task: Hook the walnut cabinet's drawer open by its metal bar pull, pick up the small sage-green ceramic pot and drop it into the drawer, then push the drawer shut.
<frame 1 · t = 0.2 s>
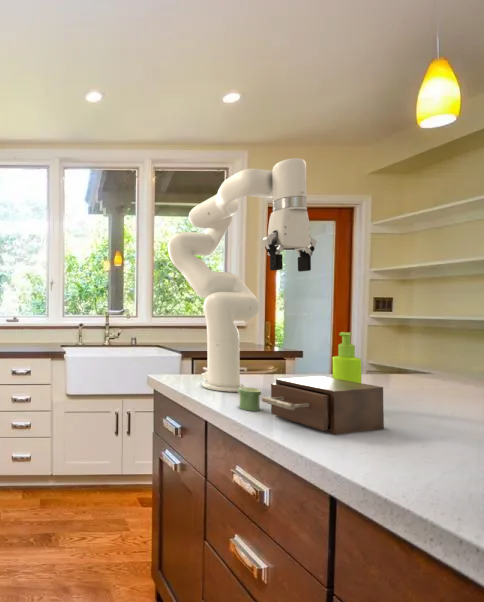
hand: (290, 270, 99), 37 cm above the worktop, tool pointing down, fingers open, 9 cm apart
soap dispenser: (346, 407, 98), on the worktop
drawer: (308, 404, 84), point 5 cm above the worktop, slide at 1.0 cm
cabinet: (327, 422, 86), on the worktop
pot: (249, 408, 97), on the worktop
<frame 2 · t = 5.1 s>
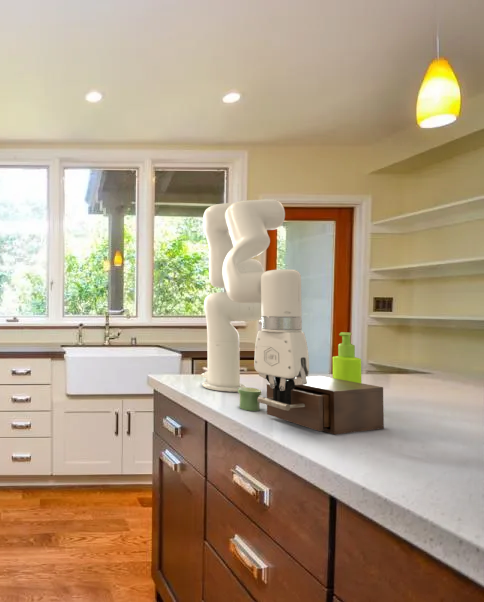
hand: (282, 407, 82), 4 cm above the worktop, tool pointing down, fingers closed
drawer: (304, 404, 84), point 5 cm above the worktop, slide at 2.3 cm, touching gripper
everything else where it was.
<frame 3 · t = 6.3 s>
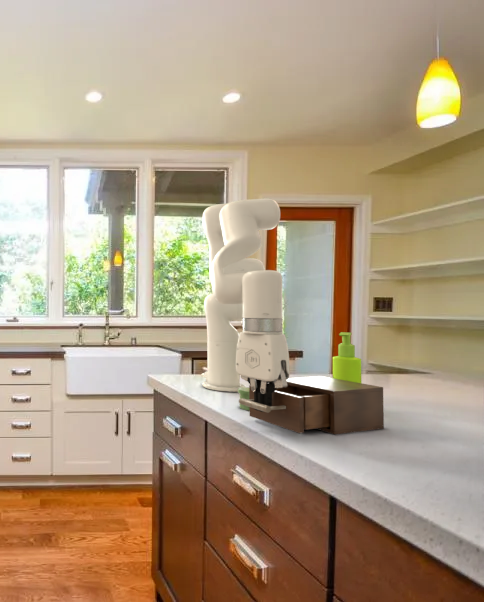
hand: (263, 410, 81), 4 cm above the worktop, tool pointing down, fingers closed
drawer: (286, 406, 82), point 5 cm above the worktop, slide at 7.6 cm
everything else where it was.
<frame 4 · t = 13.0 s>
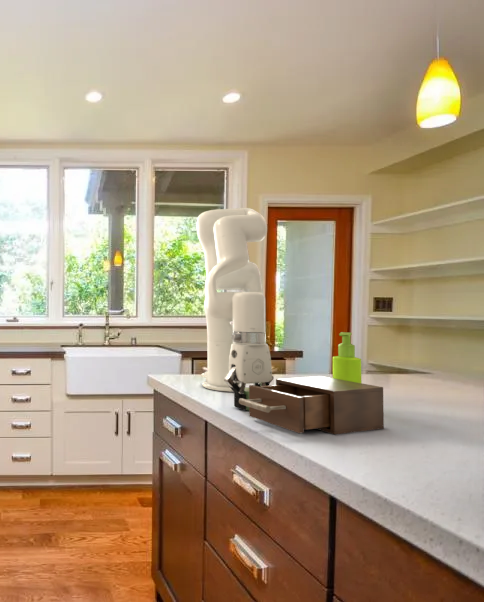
hand: (249, 406, 97), 0 cm above the worktop, tool pointing down, fingers closed on pot, 5 cm apart
pot: (249, 408, 97), on the worktop, touching gripper
everything else where it was.
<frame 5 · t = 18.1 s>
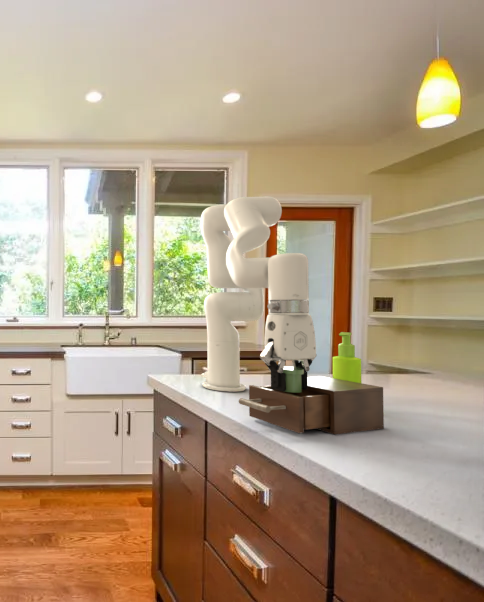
hand: (289, 388, 83), 9 cm above the worktop, tool pointing down, fingers closed on pot, 5 cm apart
pot: (289, 390, 83), point 8 cm above the worktop, touching gripper
everything else where it was.
when the fingers open (11 cm above the worktop, at t = 30.4 s): pot drops 8 cm, resting on drawer.
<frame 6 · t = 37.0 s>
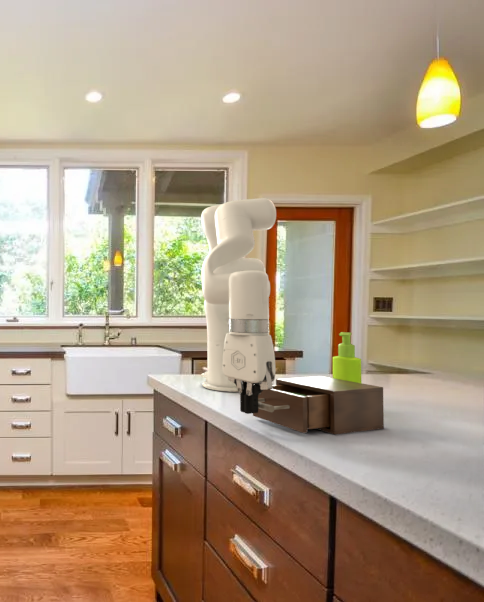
hand: (249, 412, 80), 4 cm above the worktop, tool pointing down, fingers closed
drawer: (289, 405, 83), point 5 cm above the worktop, slide at 6.6 cm, touching gripper, pot
pot: (292, 417, 83), point 2 cm above the worktop, touching drawer
everything else where it was.
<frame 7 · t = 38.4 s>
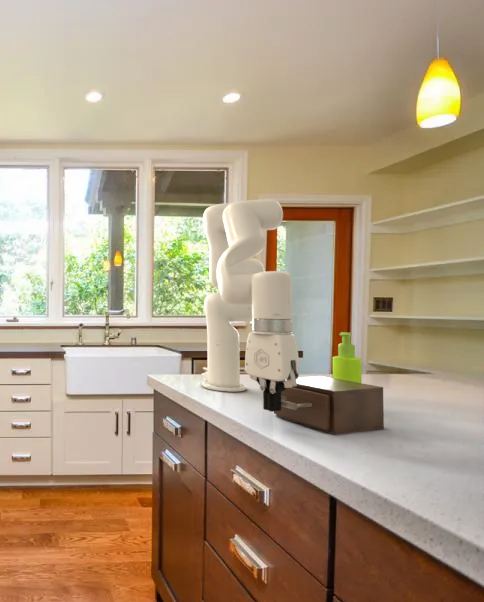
hand: (272, 409, 81), 4 cm above the worktop, tool pointing down, fingers closed
drawer: (311, 403, 84), point 5 cm above the worktop, slide at 0.3 cm, touching gripper, pot
pot: (314, 414, 85), point 2 cm above the worktop, touching drawer
everything else where it was.
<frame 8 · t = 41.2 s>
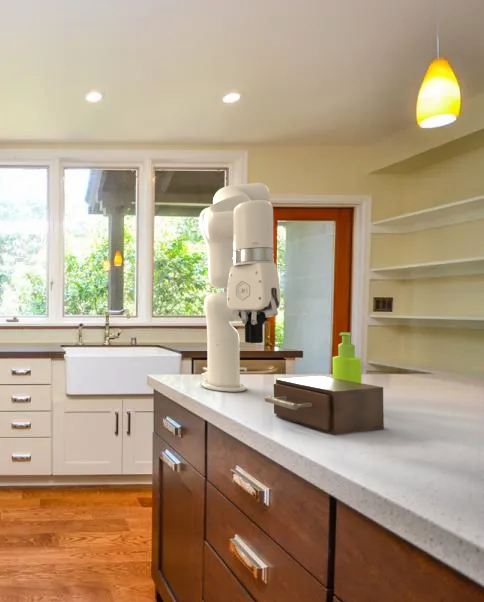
hand: (253, 342, 80), 19 cm above the worktop, tool pointing down, fingers closed
drawer: (311, 403, 84), point 5 cm above the worktop, slide at 0.2 cm, touching pot
everything else where it was.
at the end: drawer pulled out 7.6 cm at the most during the clip, back to 0.2 cm at the end; pot inside the target area in the cabinet (3.9 cm from its centre), point 2.0 cm above the cabinet's base; drawer slide at 0.2 cm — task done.
